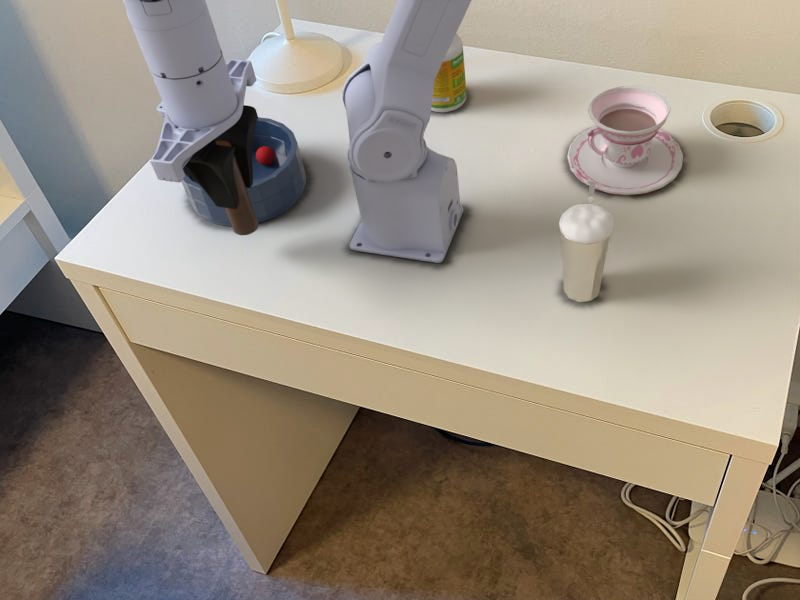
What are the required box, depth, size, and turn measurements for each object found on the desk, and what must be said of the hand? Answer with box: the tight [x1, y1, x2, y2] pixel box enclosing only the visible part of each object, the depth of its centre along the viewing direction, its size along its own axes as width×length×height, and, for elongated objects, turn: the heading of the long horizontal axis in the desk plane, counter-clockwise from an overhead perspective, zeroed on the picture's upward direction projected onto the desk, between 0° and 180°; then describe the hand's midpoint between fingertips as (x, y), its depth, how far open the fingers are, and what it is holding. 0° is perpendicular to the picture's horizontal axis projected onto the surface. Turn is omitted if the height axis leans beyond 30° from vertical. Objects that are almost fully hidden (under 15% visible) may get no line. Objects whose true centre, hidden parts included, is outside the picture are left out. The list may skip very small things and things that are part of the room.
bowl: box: [180, 116, 307, 227], centre depth 85 cm, size 12×12×4 cm
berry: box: [256, 146, 275, 166], centre depth 87 cm, size 2×2×2 cm
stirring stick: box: [216, 141, 260, 236], centre depth 74 cm, size 2×2×9 cm
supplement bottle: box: [431, 33, 467, 113], centre depth 91 cm, size 5×5×10 cm
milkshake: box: [558, 182, 615, 303], centre depth 71 cm, size 4×5×10 cm
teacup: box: [566, 85, 684, 196], centre depth 84 cm, size 12×12×6 cm
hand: (235, 194), depth 75 cm, fingers closed on stirring stick, 2 cm apart
